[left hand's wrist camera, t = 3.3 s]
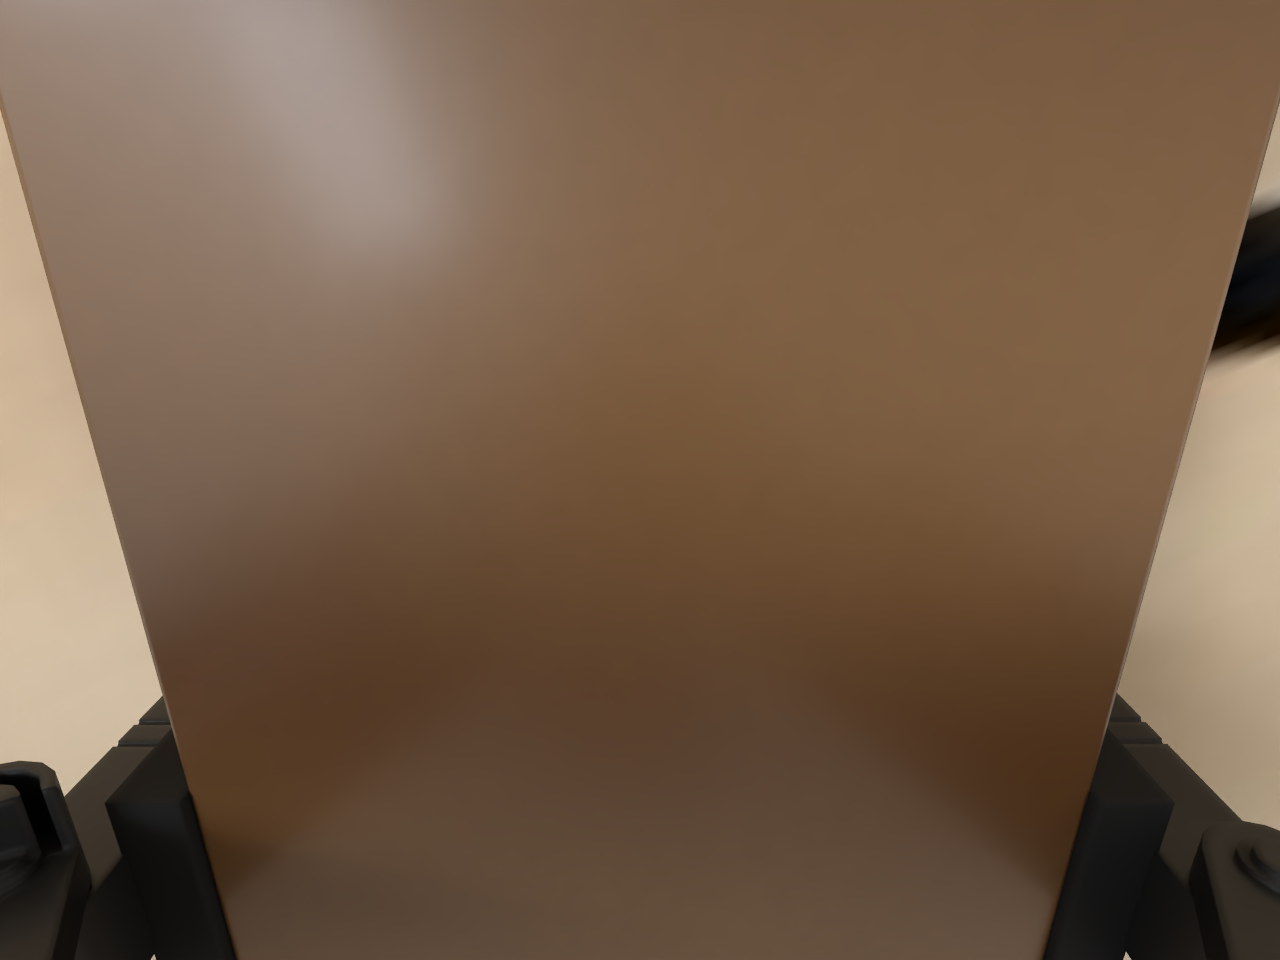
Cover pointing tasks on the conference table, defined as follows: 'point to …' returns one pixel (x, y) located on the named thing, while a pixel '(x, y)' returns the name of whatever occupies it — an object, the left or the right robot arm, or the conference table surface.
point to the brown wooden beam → (639, 441)
